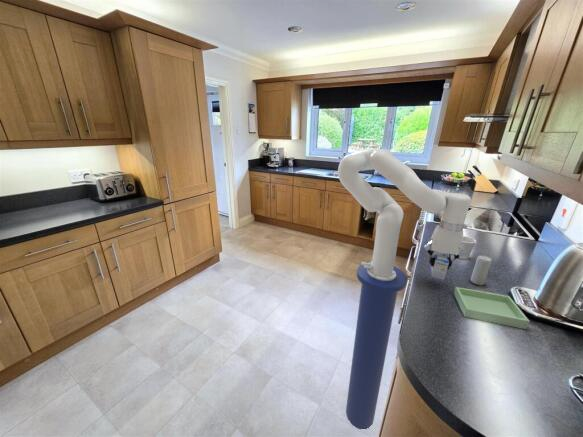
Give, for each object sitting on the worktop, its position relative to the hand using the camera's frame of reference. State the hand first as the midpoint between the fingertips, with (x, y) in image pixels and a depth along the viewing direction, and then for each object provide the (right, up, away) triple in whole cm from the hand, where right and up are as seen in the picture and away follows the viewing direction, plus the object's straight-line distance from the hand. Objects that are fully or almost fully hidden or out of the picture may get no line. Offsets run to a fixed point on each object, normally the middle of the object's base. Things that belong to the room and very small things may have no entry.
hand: (439, 265), depth 100 cm
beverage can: (+19, -8, +5) cm, 22 cm away
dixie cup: (+28, -1, +27) cm, 39 cm away
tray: (+10, -14, -11) cm, 21 cm away
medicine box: (0, -4, +1) cm, 4 cm away
